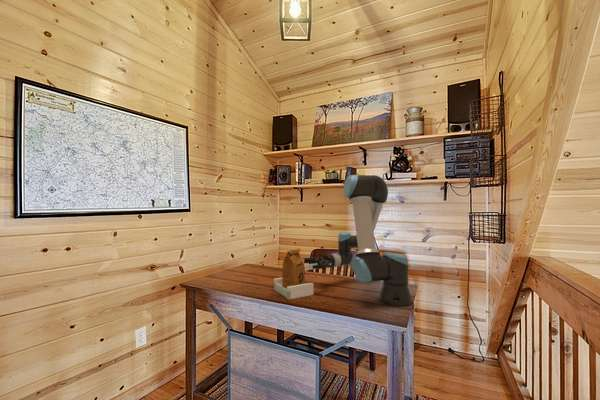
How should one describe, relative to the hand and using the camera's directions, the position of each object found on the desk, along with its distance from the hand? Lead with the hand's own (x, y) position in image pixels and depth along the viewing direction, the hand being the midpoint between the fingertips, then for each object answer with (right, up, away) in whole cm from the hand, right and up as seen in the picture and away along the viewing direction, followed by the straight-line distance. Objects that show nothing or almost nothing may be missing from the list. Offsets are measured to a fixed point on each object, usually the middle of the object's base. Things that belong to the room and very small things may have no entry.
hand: (300, 264), depth 153 cm
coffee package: (-3, -13, -1) cm, 14 cm away
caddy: (-4, -14, -2) cm, 15 cm away
